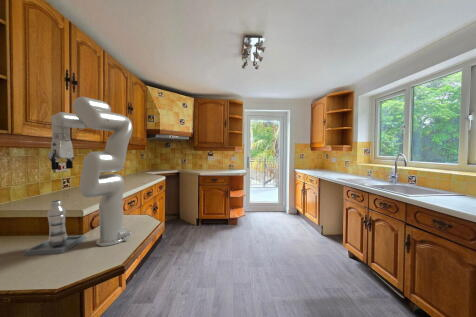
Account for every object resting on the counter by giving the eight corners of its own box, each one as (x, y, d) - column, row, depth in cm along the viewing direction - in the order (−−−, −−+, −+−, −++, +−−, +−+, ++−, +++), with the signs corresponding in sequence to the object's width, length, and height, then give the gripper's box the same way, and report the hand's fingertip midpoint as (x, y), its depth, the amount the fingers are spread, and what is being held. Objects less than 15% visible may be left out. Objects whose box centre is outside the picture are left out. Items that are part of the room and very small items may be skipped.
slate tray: (85, 239, 99) (85, 235, 99) (62, 253, 84) (62, 248, 84) (53, 241, 98) (53, 237, 98) (24, 255, 83) (24, 251, 83)
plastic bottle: (56, 248, 87) (54, 202, 87) (44, 247, 89) (42, 202, 89) (71, 242, 94) (69, 199, 93) (59, 241, 95) (58, 199, 95)
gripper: (55, 135, 102) (57, 169, 102) (79, 139, 120) (81, 167, 120) (39, 136, 102) (41, 170, 102) (66, 139, 119) (67, 168, 119)
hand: (62, 169), depth 111 cm, fingers open, 9 cm apart
